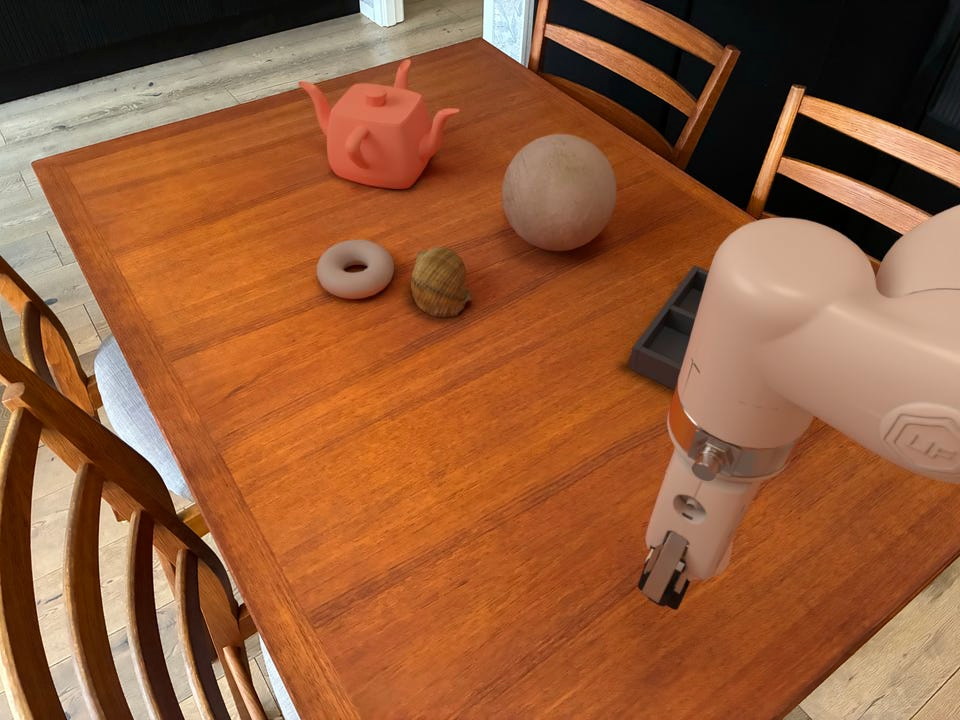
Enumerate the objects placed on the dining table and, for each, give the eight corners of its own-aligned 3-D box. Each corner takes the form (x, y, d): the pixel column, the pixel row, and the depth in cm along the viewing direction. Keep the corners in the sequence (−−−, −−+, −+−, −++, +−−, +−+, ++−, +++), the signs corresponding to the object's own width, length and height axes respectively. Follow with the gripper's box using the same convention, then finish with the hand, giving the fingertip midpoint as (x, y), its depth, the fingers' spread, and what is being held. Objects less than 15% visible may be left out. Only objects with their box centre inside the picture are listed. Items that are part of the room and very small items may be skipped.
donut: (354, 245, 100) (302, 283, 94) (351, 224, 98) (297, 263, 92) (410, 273, 96) (359, 315, 91) (409, 253, 94) (356, 295, 88)
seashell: (464, 328, 95) (497, 277, 93) (440, 331, 89) (475, 276, 86) (410, 286, 98) (440, 236, 95) (383, 285, 91) (415, 231, 89)
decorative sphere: (536, 287, 94) (544, 191, 83) (481, 224, 103) (482, 129, 92) (629, 253, 99) (649, 157, 88) (569, 195, 108) (581, 101, 97)
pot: (418, 125, 121) (414, 51, 111) (461, 180, 110) (460, 104, 101) (310, 150, 115) (296, 75, 106) (344, 211, 105) (331, 133, 96)
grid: (820, 341, 89) (831, 320, 86) (771, 437, 79) (781, 417, 76) (687, 285, 95) (694, 264, 92) (627, 367, 85) (632, 347, 83)
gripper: (743, 561, 37) (677, 683, 50) (843, 351, 46) (765, 501, 59) (610, 490, 39) (581, 623, 53) (730, 306, 49) (679, 458, 62)
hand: (679, 557), depth 56 cm, fingers closed on garlic bulb, 6 cm apart
